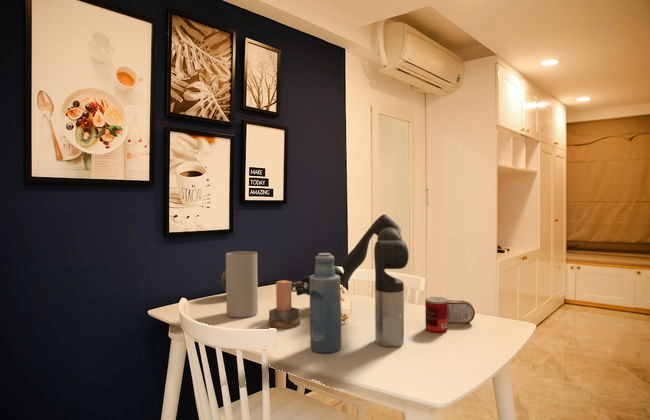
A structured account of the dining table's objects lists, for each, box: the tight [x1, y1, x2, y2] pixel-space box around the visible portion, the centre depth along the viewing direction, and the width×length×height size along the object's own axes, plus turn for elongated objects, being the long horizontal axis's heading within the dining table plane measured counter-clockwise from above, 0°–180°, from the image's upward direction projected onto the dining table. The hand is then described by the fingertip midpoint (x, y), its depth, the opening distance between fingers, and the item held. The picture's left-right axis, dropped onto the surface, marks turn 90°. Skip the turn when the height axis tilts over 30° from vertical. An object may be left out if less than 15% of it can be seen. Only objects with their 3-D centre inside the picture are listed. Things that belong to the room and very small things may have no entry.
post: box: [275, 279, 293, 312], centre depth 158 cm, size 4×4×14 cm
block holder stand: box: [267, 306, 301, 330], centre depth 158 cm, size 12×12×6 cm
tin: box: [447, 299, 476, 325], centre depth 158 cm, size 15×3×8 cm, turn 84°
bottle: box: [309, 252, 342, 354], centre depth 132 cm, size 10×10×30 cm
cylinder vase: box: [225, 250, 259, 319], centre depth 172 cm, size 12×12×25 cm
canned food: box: [424, 296, 449, 334], centre depth 150 cm, size 8×8×11 cm
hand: (288, 291), depth 160 cm, fingers open, 8 cm apart
